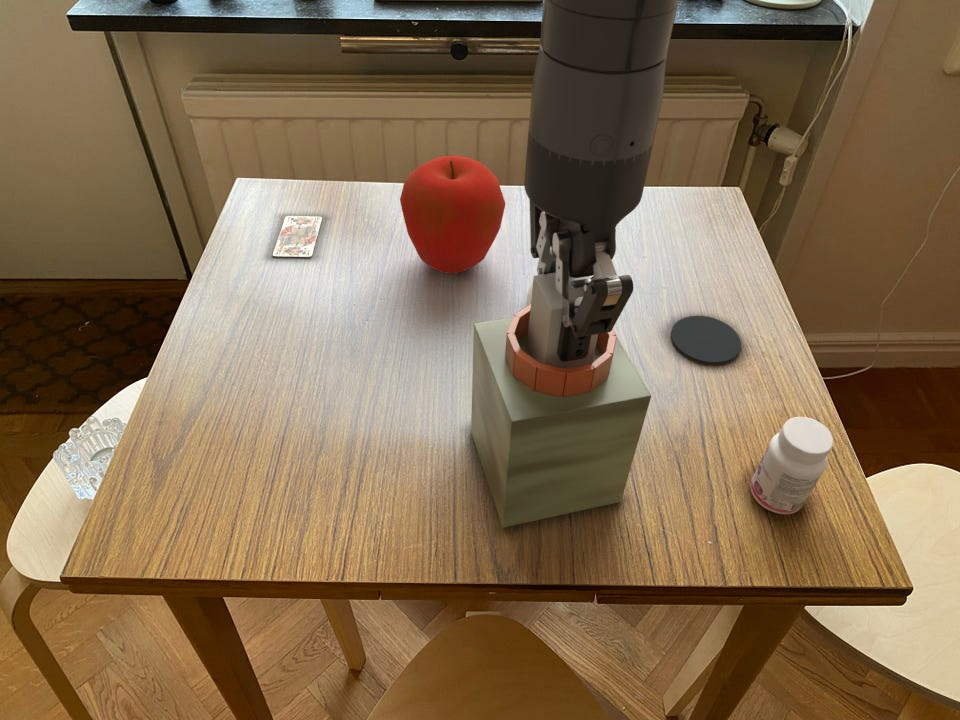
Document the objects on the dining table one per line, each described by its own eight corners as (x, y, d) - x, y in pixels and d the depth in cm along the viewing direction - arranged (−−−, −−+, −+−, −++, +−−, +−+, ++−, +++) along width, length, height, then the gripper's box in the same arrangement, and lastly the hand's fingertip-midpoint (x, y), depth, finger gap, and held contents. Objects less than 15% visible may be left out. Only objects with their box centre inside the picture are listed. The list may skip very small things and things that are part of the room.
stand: (621, 502, 63) (651, 395, 53) (502, 528, 61) (511, 422, 51) (577, 411, 70) (597, 303, 61) (470, 431, 68) (473, 323, 58)
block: (591, 371, 55) (604, 301, 50) (542, 379, 54) (551, 310, 49) (573, 337, 57) (584, 267, 53) (526, 344, 57) (533, 275, 52)
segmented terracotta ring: (627, 385, 54) (633, 362, 52) (524, 404, 52) (526, 381, 50) (588, 316, 59) (592, 293, 58) (494, 331, 58) (495, 308, 56)
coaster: (753, 358, 77) (754, 355, 76) (689, 370, 75) (690, 367, 75) (719, 313, 82) (720, 311, 81) (659, 323, 80) (659, 321, 80)
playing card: (311, 256, 87) (311, 256, 87) (272, 256, 87) (272, 256, 87) (322, 216, 94) (322, 216, 94) (285, 216, 94) (285, 215, 93)
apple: (489, 303, 82) (493, 197, 72) (390, 286, 84) (382, 180, 74) (510, 243, 91) (517, 141, 81) (420, 228, 92) (416, 127, 83)
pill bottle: (747, 468, 66) (776, 408, 60) (800, 477, 65) (834, 417, 59) (750, 510, 63) (781, 451, 57) (806, 520, 62) (843, 462, 56)
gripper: (705, 178, 38) (644, 394, 50) (605, 71, 48) (575, 274, 60) (574, 194, 37) (544, 413, 49) (498, 81, 46) (489, 286, 58)
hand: (561, 335), depth 54 cm, fingers closed on block, 4 cm apart
